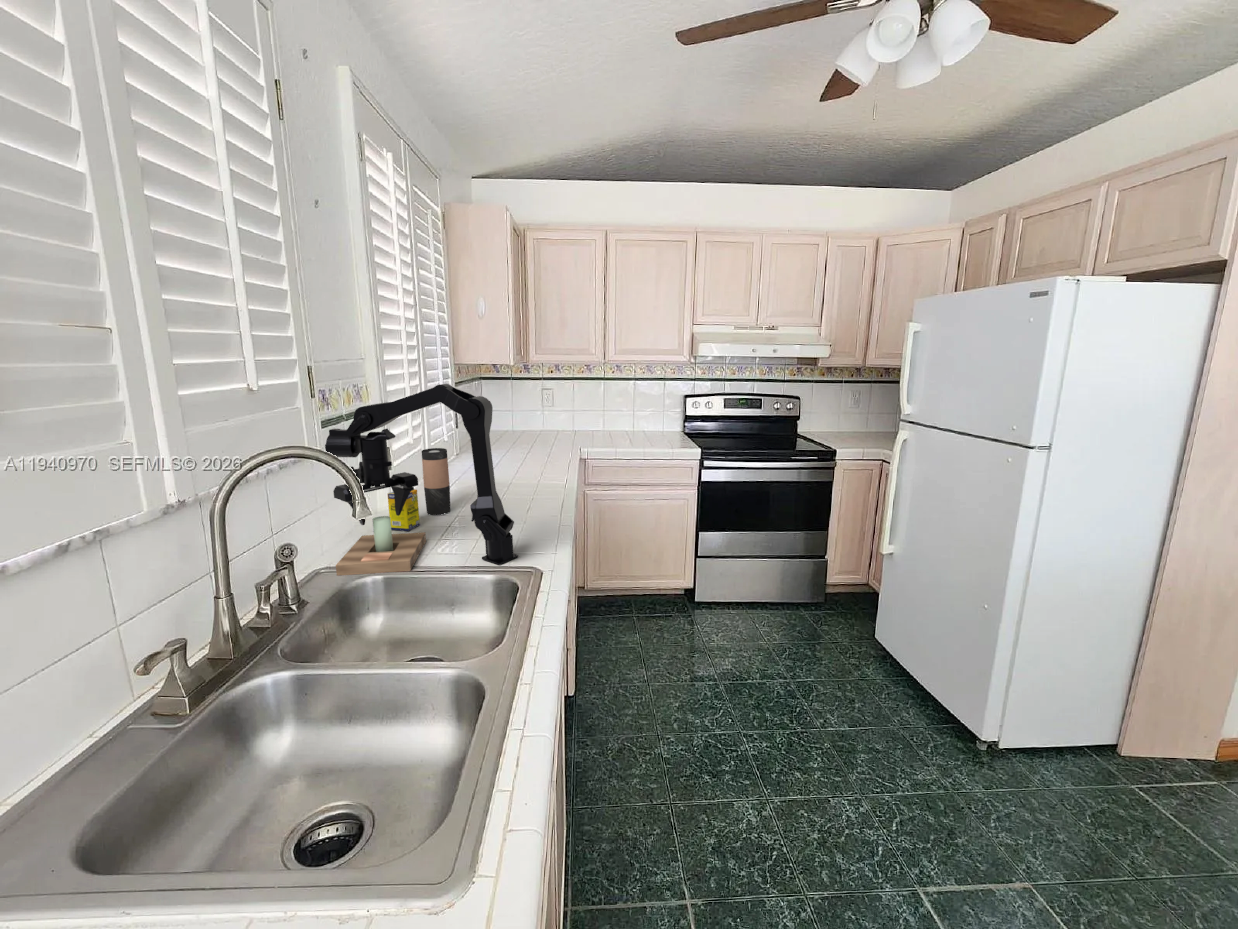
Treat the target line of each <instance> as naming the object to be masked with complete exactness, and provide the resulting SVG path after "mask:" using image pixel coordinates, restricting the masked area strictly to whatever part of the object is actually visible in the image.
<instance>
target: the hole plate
mask: <svg viewBox="0 0 1238 929" xmlns="http://www.w3.org/2000/svg"><path fill="white" fill-rule="evenodd" d="M392 541H393V551H388V552H376V549H375V540H374V534H367V535H366V534H365V535H361V537H359V538H358V539H357V541H356V542H355V543H354V544H353V545H352V547H350V549H348V551H347V552H346V553H345V554H344V556H342V558H341V559H340V560H339V561H337V563H336V564H335V572H336V576H338V577H339V576H349V575H351V576H352V575H368V574H369V575H371V574H381V573H383V574H385V573H399V572H400V573H401V572H410V571H412V569H413V566H414V564H415V563H416V561H417V560H418V557H419V556H418V555H420V553H421V551H422V549H423V548H424V546H425V545H426V542H427V536H426V532H425V531H424V532H407V533H406V532H405V533H403V532H402V533H392Z"/></svg>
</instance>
